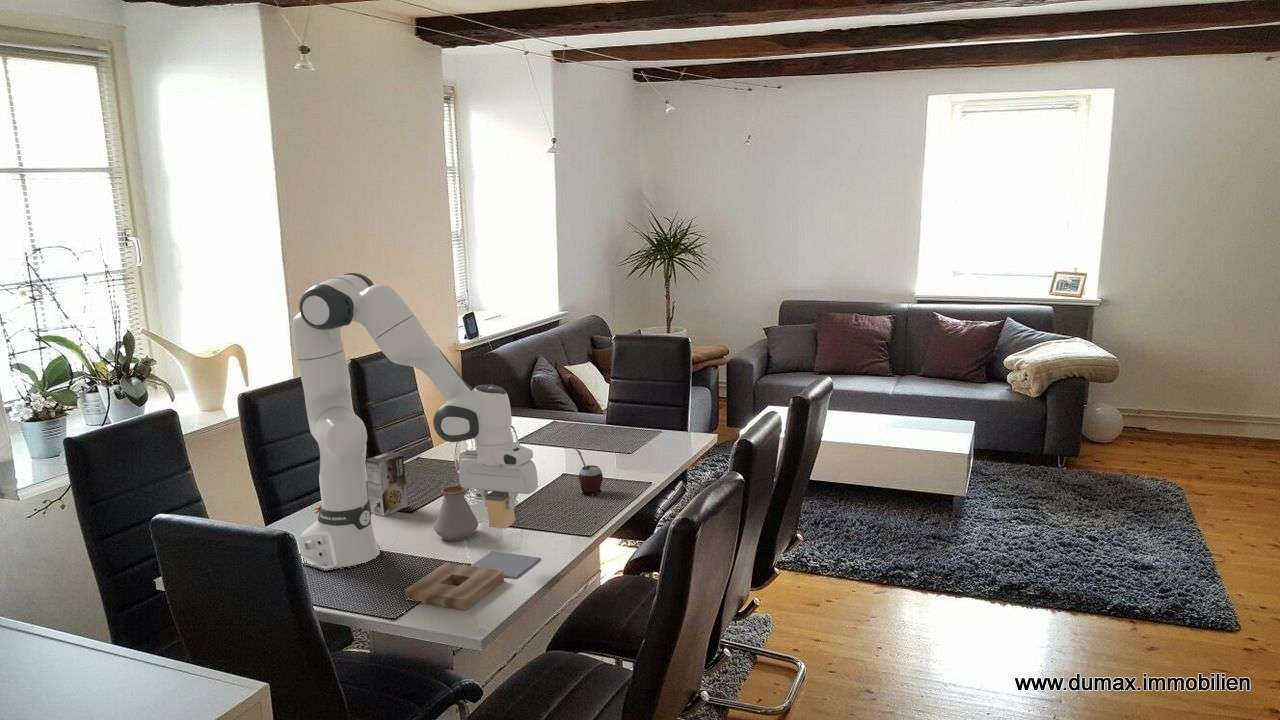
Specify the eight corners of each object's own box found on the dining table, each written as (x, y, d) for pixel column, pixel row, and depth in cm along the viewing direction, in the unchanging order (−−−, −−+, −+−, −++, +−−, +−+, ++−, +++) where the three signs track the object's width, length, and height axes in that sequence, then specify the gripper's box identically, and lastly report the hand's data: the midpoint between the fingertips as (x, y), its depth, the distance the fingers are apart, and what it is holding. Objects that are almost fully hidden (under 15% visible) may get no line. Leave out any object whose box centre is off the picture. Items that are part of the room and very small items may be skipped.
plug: (489, 527, 223) (485, 496, 221) (499, 519, 227) (495, 489, 225) (505, 528, 221) (501, 497, 219) (515, 521, 225) (511, 490, 223)
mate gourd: (607, 494, 274) (605, 445, 272) (584, 499, 270) (581, 450, 268) (595, 487, 281) (593, 440, 278) (572, 493, 277) (569, 444, 274)
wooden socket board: (405, 600, 208) (404, 589, 208) (446, 572, 223) (445, 562, 222) (465, 610, 202) (464, 599, 202) (504, 581, 216) (503, 570, 216)
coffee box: (394, 503, 274) (389, 450, 270) (409, 507, 270) (404, 453, 267) (369, 513, 266) (364, 459, 263) (384, 516, 263) (378, 462, 260)
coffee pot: (461, 546, 239) (456, 490, 236) (425, 540, 244) (421, 485, 241) (508, 518, 257) (505, 467, 254) (475, 513, 262) (471, 462, 260)
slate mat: (465, 571, 223) (465, 569, 223) (492, 552, 234) (492, 550, 234) (515, 578, 217) (515, 577, 217) (540, 559, 228) (540, 557, 228)
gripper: (451, 452, 221) (456, 507, 224) (525, 459, 213) (529, 516, 216) (466, 445, 227) (470, 499, 230) (539, 451, 219) (543, 506, 222)
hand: (500, 507), depth 223 cm, fingers closed on plug, 4 cm apart
